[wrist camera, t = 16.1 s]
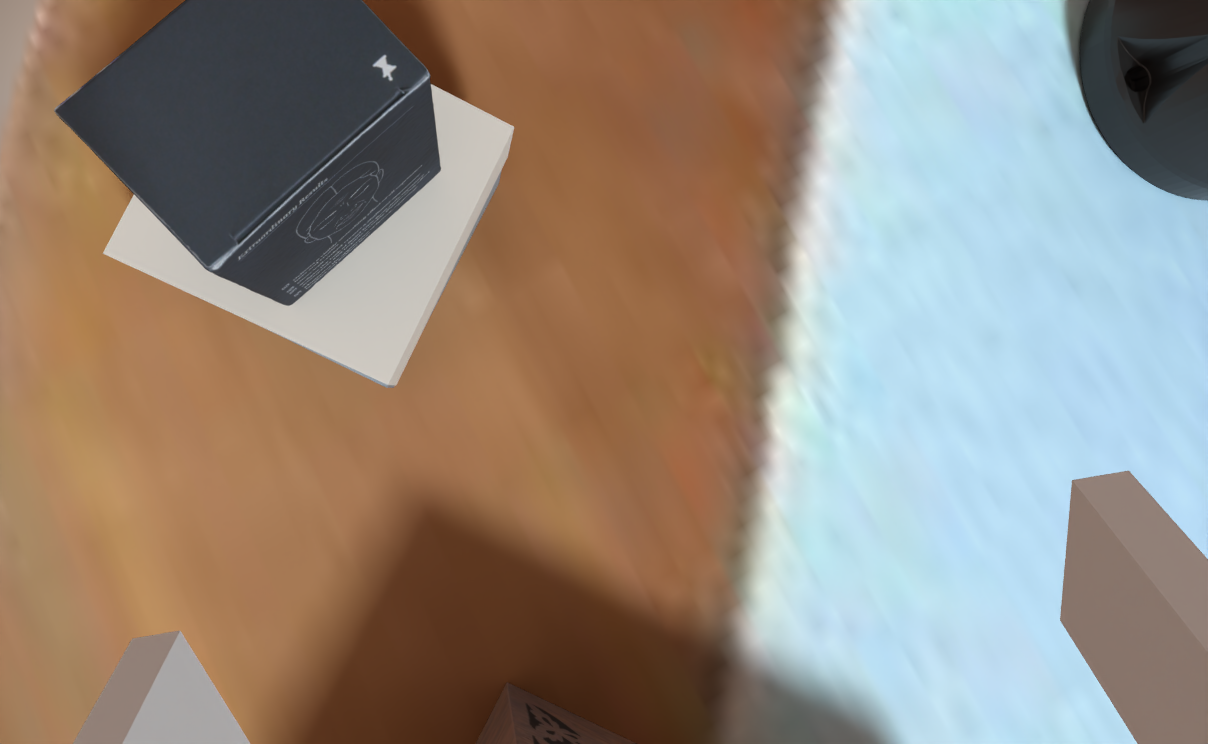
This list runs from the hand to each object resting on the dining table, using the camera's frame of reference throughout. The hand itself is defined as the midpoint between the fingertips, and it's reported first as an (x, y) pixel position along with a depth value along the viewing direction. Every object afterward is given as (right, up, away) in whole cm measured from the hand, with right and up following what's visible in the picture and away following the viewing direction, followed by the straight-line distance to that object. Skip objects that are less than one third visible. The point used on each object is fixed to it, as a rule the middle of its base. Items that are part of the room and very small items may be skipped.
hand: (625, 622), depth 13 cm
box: (-11, +11, +20) cm, 25 cm away
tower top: (-12, +11, +24) cm, 29 cm away
